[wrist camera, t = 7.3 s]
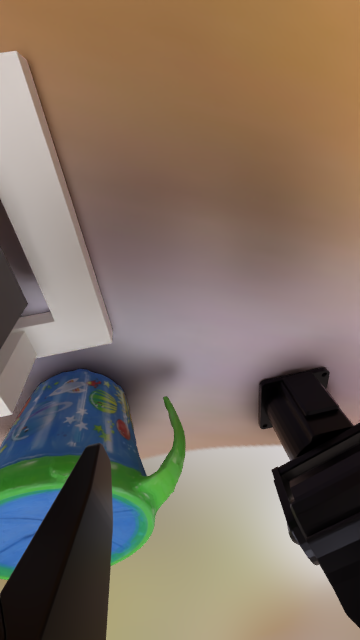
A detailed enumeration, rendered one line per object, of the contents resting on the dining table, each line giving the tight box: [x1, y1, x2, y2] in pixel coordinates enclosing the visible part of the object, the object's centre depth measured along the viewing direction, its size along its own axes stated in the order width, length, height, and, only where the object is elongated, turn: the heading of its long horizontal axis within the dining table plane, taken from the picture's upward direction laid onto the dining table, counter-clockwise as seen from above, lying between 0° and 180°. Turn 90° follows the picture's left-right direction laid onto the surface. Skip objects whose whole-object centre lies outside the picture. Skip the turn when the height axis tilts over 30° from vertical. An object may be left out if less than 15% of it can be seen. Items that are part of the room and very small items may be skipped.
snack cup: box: [0, 369, 185, 580], centre depth 20 cm, size 16×10×10 cm
